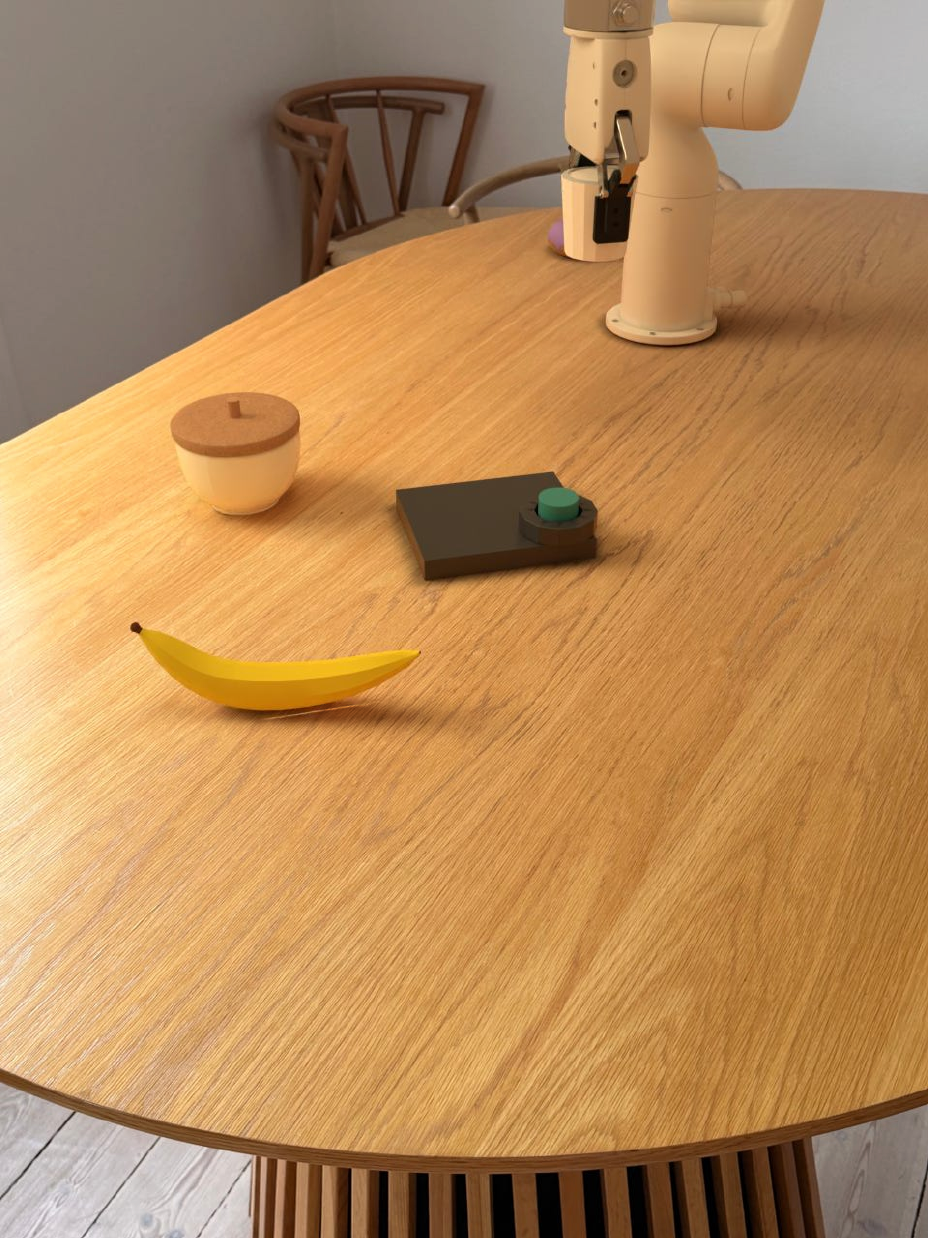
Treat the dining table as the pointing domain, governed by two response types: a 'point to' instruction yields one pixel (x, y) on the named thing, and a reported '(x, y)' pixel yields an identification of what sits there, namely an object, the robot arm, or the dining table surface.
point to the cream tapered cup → (586, 216)
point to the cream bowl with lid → (238, 449)
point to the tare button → (558, 504)
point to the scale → (491, 526)
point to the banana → (271, 674)
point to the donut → (557, 238)
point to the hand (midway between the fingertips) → (596, 228)
